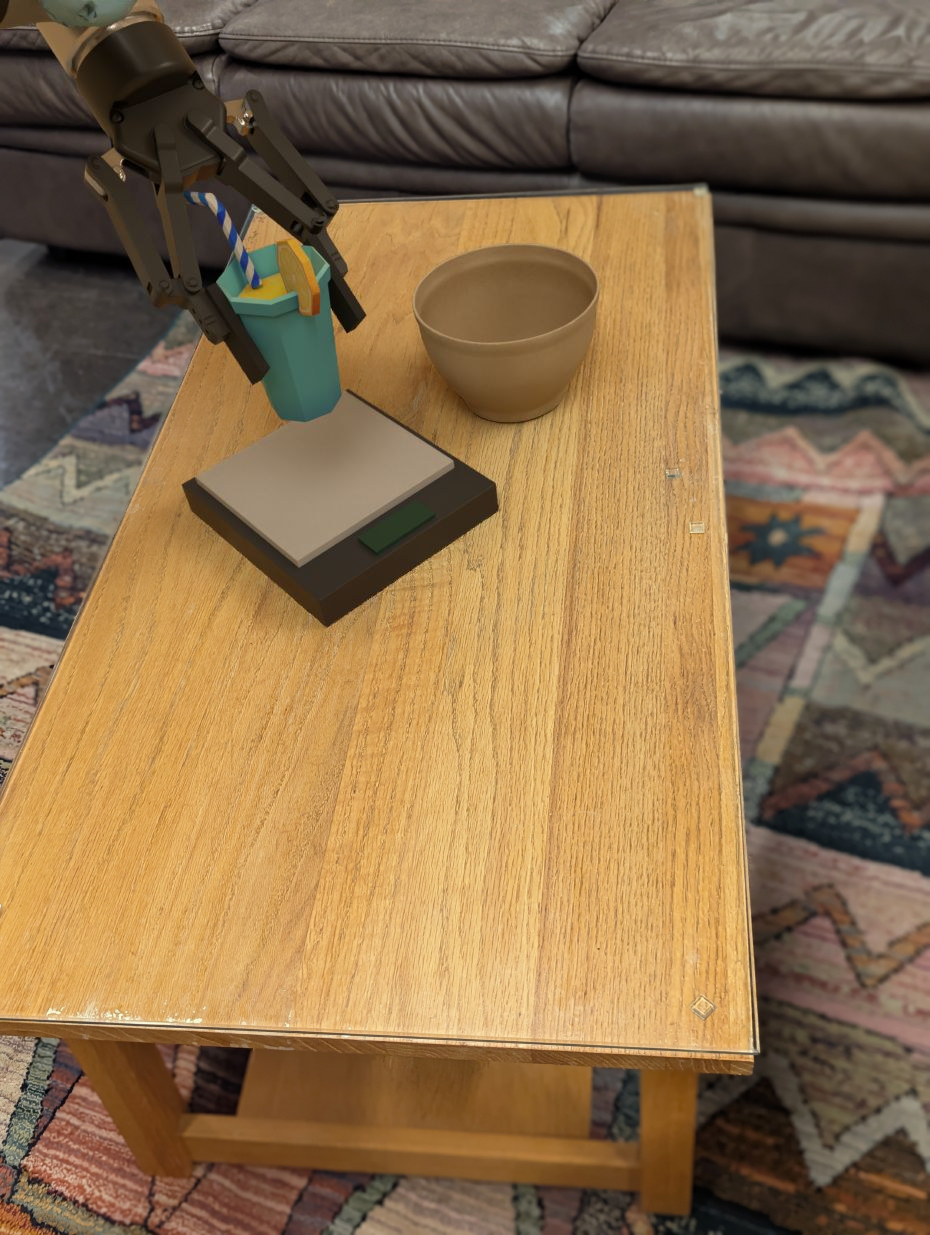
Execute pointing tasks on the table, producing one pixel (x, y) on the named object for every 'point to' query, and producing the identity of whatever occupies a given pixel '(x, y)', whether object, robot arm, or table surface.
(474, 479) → the scale
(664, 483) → the table surface
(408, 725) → the table surface
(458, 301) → the planter bowl
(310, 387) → the cup
